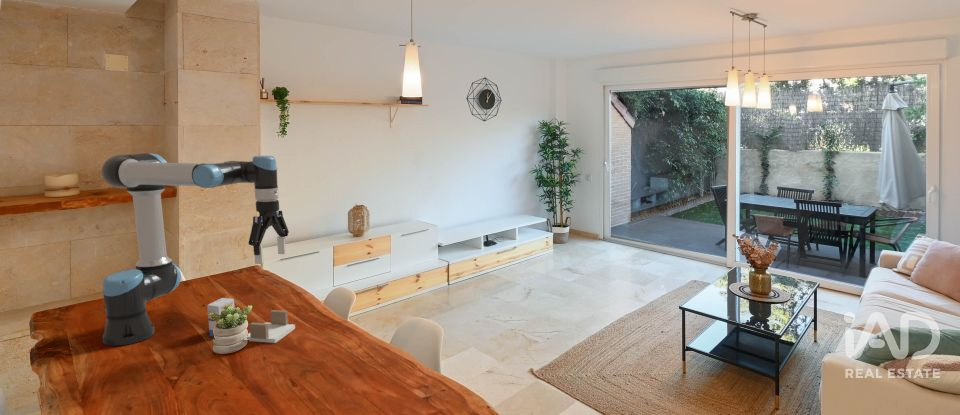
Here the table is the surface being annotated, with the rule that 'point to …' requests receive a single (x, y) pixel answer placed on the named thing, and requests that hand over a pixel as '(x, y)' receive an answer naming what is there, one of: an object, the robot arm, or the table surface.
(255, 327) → the stand
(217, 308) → the ink box
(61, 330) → the table surface
